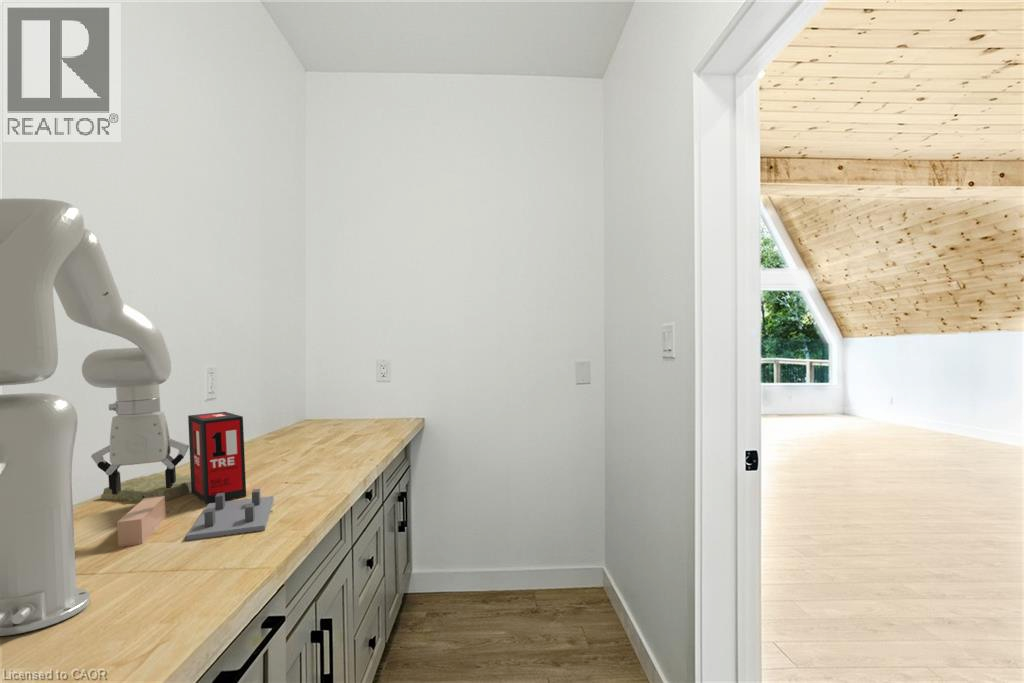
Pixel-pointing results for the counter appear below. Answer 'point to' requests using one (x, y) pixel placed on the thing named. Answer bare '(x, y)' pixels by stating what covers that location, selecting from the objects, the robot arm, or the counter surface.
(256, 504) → the grey plate with pegs
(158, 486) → the decorative tile
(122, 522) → the clay strip
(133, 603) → the counter surface
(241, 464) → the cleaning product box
